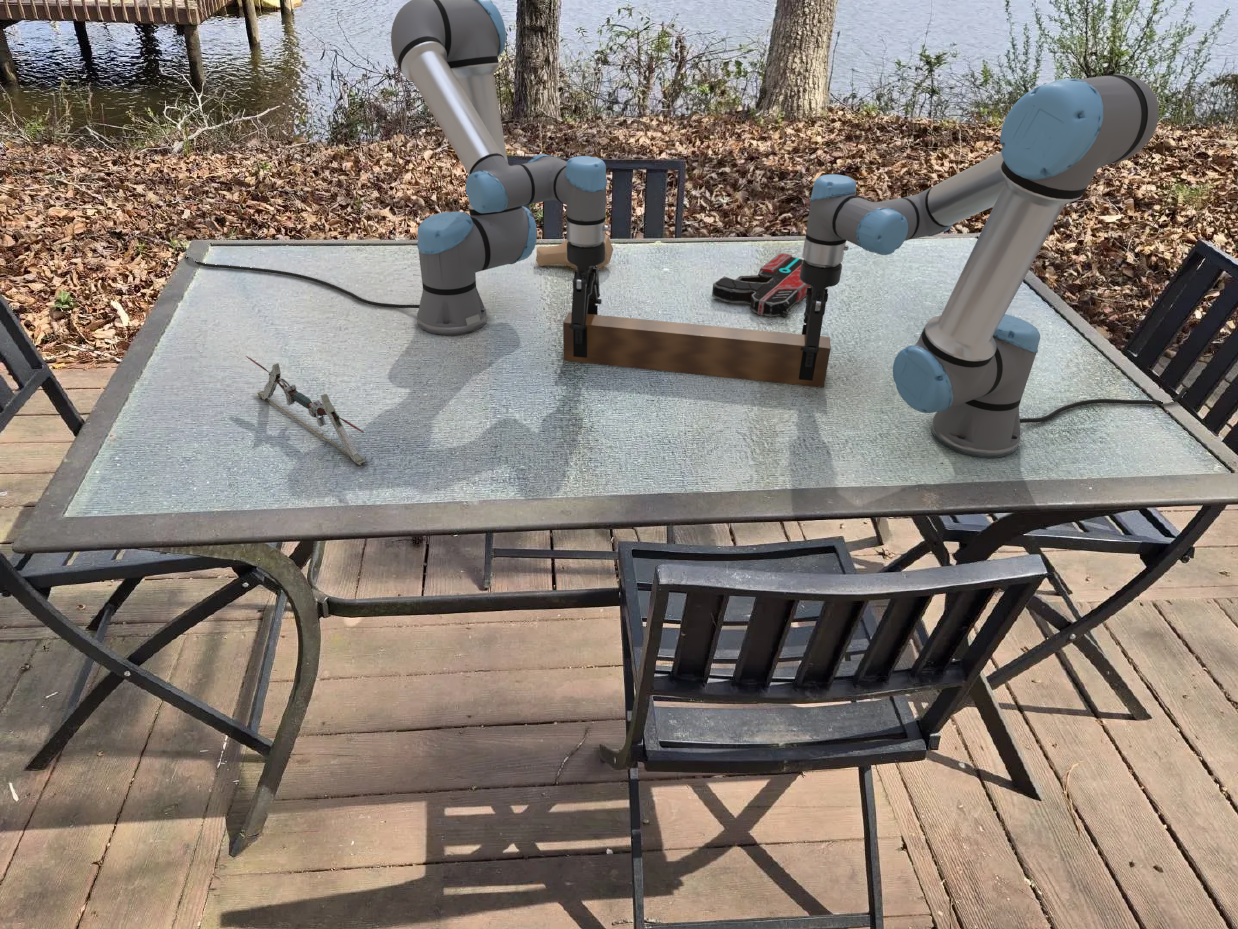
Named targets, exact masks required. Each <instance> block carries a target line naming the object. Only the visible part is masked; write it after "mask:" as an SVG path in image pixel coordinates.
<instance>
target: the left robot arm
mask: <svg viewBox="0 0 1238 929" xmlns="http://www.w3.org/2000/svg"><path fill="white" fill-rule="evenodd" d="M506 42H507V31H506V25H505V22H504V19H503V16H502V14H501V12H500V10H499V8H498V6H496V5H495V4H494V2H493V1H492V0H409V1H408V2H406V3H405V4H403V6H402V7H401V8H400V9H399V11H398V12H397V14H396V15H395V16H394V19H393V22H392V26H391V31H390V44H391V51H392V55H393V58H394V61H395V63H396V65H397V67H398V68H399V70H400V72H401V74H402V75H403V77H404V78H405V79H406V80H408V81H410V82H412V83H413V84H414V86H415V87H416V89H417V91H418V93H419V94H420V96H421V97H422V99H423V101H424V102H425V104H426V106H427V108H428V109H429V110H430V112H431V114H432V115H433V117H434V119H435V121H436V122H437V124H438V126H439V127H440V129H441V131H442V133H443V134H444V136H445V137H446V140H447V141H448V144H450V146H451V148H452V149H453V151H454V153H455V155H456V156H457V158H458V159H459V161H460V163H461V165H462V167H463V168H464V170H465V172H466V173H467V174H468V175H467V178H466V181H465V193H466V195H467V197H468V198H467V199H468V203H469V205H468V211H469V212H468V213H469V214H468V213H466V212H464V211H457V210H455V211H454V210H453V211H443V212H438V213H436V214H435V213H434V214H432V215H429V216H427V217H426V218H424V220H422V221H421V222H420V224H419V226H418V227H417V230H416V231H417V232H416V233H417V242H416V246H417V247H416V248H417V250H418V258H419V259H418V260H419V267H420V275H421V276H420V278H421V284H422V292H421V297H420V302H419V304H397V303H385V302H377V301H372V300H368V299H365V298H362V297H360V296H358V295H357V294H355V293H353V292H351V291H349V290H346V289H344V288H343V287H340V286H338V285H335V284H332V283H330V282H327V281H324V280H322V279H318V278H315V277H312V276H307V275H304V274H299V273H295V272H289V271H284V270H277V269H270V268H263V267H262V268H260V267H254V266H253V267H252V268H250V267H251V266H241V267H240V265H231V264H217V265H215V263H207V262H202V261H199V262H196V261H195V262H194V263H195V264H196V265H199V266H200V267H201V266H202V267H207V268H215V269H216V268H217V269H218V268H219V269H230V270H241V271H249V272H250V271H251V272H259V273H260V272H261V273H269V274H276V275H282V276H288V277H294V278H299V279H303V280H307V281H311V282H314V283H317V284H320V285H323V286H326V287H328V288H331V289H333V290H336V291H339V293H340V292H341V293H343V294H345V295H347V296H349V297H352V298H353V299H355V300H357V301H358V302H361V303H363V304H367V305H370V306H375V307H381V308H393V309H418V310H417V315H416V318H417V325H418V326H419V328H420V329H421V330H423V331H424V332H427V333H430V334H433V335H440V336H459V335H465V334H469V333H473V332H476V331H477V330H480V329H481V328H483V327H484V326H485V325H486V323H487V320H488V316H487V310H486V306H485V304H484V302H483V299H482V298H481V295H480V293H479V291H478V288H477V278H476V277H477V276H476V273H479V272H483V271H486V270H490V269H494V268H498V267H502V266H506V265H514V264H516V263H518V262H521V261H524V260H526V259H528V258H529V257H531V255H532V254H533V251H534V250H535V249H536V244H537V240H538V239H537V238H538V230H537V224H536V220H535V217H533V213H532V212H531V210H530V209H529V208H527V207H526V206H530V205H535V204H539V203H543V202H548V201H556V202H558V203H561V204H563V205H565V206H566V208H565V209H566V230H565V231H566V232H565V233H566V237H565V238H566V239H567V240H568V242H567V260H568V261H569V262H570V263H571V264H574V265H576V266H577V269H576V270H575V271H574V275H573V279H572V281H571V282H572V298H571V300H572V302H571V312H572V316H571V325H569V328H571V329H573V357H583V358H587V327H586V320H587V314H593V315H599V314H598V313H599V312H598V311H599V308H598V307H599V305H602V302H603V301H602V298H600V297H601V292H600V275H599V273H600V272H599V269H598V265H599V264H601V263H603V262H604V260H605V243H604V240H605V235H606V232H608V231H609V229H610V228H609V226H608V225H606V218H607V187H608V181H607V180H608V179H607V165H606V162H604V160H603V159H601V158H599V157H596V156H590V155H579V156H573V157H570V158H569V159H568V160H567V161H566V160H564V159H562V158H559V157H558V156H554V155H552V154H545V153H540V154H535V155H534V156H533V157H532V158H531V159H530V160H528V162H525V163H519V164H513V165H510V164H509V160H508V155H507V150H506V143H505V142H506V141H505V137H504V131H503V124H502V119H501V112H500V106H499V100H498V95H497V88H496V81H495V76H494V75H495V72H496V70H497V69H498V67H499V66H500V62H499V61H500V60H499V56H501V54H503V52H504V51H505V49H506ZM185 258H186V255H185V256H184V259H185ZM189 258H190V257H188V259H189ZM205 263H206V264H205ZM229 265H230V266H229Z"/></svg>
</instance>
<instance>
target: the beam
mask: <svg viewBox="0 0 1238 929" xmlns="http://www.w3.org/2000/svg"><path fill="white" fill-rule="evenodd" d="M571 316H572V311H569V312H568V313H567V314H566V317H565V318H564V320H563V321H562V335H563V336H562V338H563V340H562V342H563V347H562V348H563V362H564V361H565V362H574V363H583V364H593V365H602V366H612V367H613V366H614V367H621V368H632V369H642V370H652V371H663V372H671V373H682V374H690V375H691V374H692V375H700V376H710V377H718V378H730V379H737V380H749V381H758V382H769V383H778V384H787V385H797V386H798V385H799V386H806V387H807V386H808V387H816V388H825V383H826V378H827V372H828V366H829V361H830V354H831V350H832V347H831V337H830V336H823V335H820V342H819V351H818V353H817V357H816V363H815V369H814V375H813V381H810V380H800V379H799V372H800V366H801V359H802V353H803V351H802V350H800V347H804V346H805V339H806V335H802V333H801V334H800V333H792V332H791V333H790V332H780V331H769V330H759V329H750V328H738V327H730V326H729V327H728V326H719V325H718V326H717V325H707V324H698V323H688V322H687V323H686V322H675V321H664V320H655V319H644V318H635V317H633V318H632V317H624V316H623V317H622V316H613V315H602V314H598V315H593V314H587V320H586V327H587V358H583V357H573V329H571V328H569V325H571Z"/></svg>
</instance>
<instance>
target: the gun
mask: <svg viewBox="0 0 1238 929" xmlns="http://www.w3.org/2000/svg"><path fill="white" fill-rule="evenodd" d="M803 260H804V259H803V258H799V257H795V256H793V255H792V254H791V253H784V252H780V253H778V254H777V255H775V256H774V257H773V258H771V259H770V260H768V261H767V262H766V263H765V264H763V265H762V266H761V267H760V269H759V271H758V273H757V274H756V275H753V274H752V275H751V274H750V275H740V276H738V277H737V278H735V279H734V278H731V277H727V276H722V277H720V279H717V281H715V282H713V283H712V291H711V297H713V298H714V299H716V300H719V301H723V302H727V303H730V304H750V305H749V308H750V310H751V312H753V313H755V314H757V315H758V316H760V317H761V316H765V317H770V318H771V317H777V316H780V317H784V318H787V317H788V315H789V311H788V310H790V309H791V308H792V307H793V306H794V305H795V304H798V303H799V302H801V301H802V300H803V299H804V298H806V297H807V295H806V291H807V287H809V286H810V285H808V284H805V283H804V282H802V281H801V279H800V271H801V264H802V261H803Z"/></svg>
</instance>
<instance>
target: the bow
mask: <svg viewBox="0 0 1238 929" xmlns="http://www.w3.org/2000/svg"><path fill="white" fill-rule="evenodd" d="M245 357H246V358H247V359H248V360H250V361H251V362H253V364H255V365H256V366H257V367H259V368H261V369H262V370H263V371H265V372H267V373H268V381H267V382H266V384H265V386H264V387H263V388H264V389H263V390H261V391H258V392H257V397H259V398H260V399H262V400H267V401H269V402H270V403H271V404H272V405H275V406H276V407H277V408H278V409H280V410H282V411H283V412H285V413H286V414H287V415H289V416H290V417H292V418H293V419H295V420H296V421H298V422H299V423H301V424H302V425H304V426H305V427H306V428H308V429H310V430H311V431H312V432H314V433H315V434H317V435H318V436H319V437H321V438H323V439H324V440H325V441H327V442H329V443H330V444H332V445H333V446H334V447H335V448H337V449H339V450H340V451H342V452H343V453H344V454H346V455H347V456H348V457H350V459H351V460H352V461H353V462H354V464H356V465H359V466H362V464H365V463H367V461H366V460H365V458H364V457H362V456H361V455H360V453H359V452H358V451H357V449H356V447H355V445H354V443H353V441H352V440H351V438H350V436H349V434H348V432H347V430H346V429H345V427H344V425H343V423H346V424H347V425H348V426H350V427H352V428H353V429H355V430H357V431H358V432H360V433H362V434H364V433H365V431H364V430H362V429H361V428H360V427H358V426H356V425H355V424H353V423H351V422H350V421H348V420H346V419H344V418H342V417H340V415H339V414H338V412H337V411H336V408H335V407H334V405H333V403H332V402H331V399H330V398H329V395H328V394H327V393H324V394H321V395H320V399H321V401H320V399H317V400H315V401H312V400H311V398H309V397H308V396H307V395H305V394H304V393H302V392H300V391H298V390H297V386H296V384H291V385H290V383H289V382H288V381H287V380H286V379H284V378H282V376H281V375H282V372H281V367H280V363H278V362H277V363H274V364H272V365H271V366H272V367H271V368H272V369H271V371H269V370H268V369H266V368H265V367H264V366H263V365H262V364H260V363H259V362H257V361H256V360H254V359H252V358H251V357H249V356H248V355H245ZM277 385H279V387H280V388H281V389H282V391H283V393H284V395H285V402H286V405H287V406H289V407H290V406H292V405H295V404H296V403H298V404H299V405H300V406H301V407H303V408H305V409H307V410H308V414H309V415H310V416H311V417H312V418H313V419H314V418H315V419H316V422H317V426H318V427H320V428H321V427H323V426H327V423H326V418H325V417H324V416H327V417H328V419H329V421H330V423H331V425H332V428H334V431H335V433H336V434H337V437H338V438H339V440H340V442H341V443H342V444H343V448H344V449H343V448H341V447H339V446H338V445H336V444H335V443H334V442H332V441H330V439H328V438H326V437H325V436H323V435H322V434H320V433H319V432H318V431H316V430H314V429H313V428H312V427H310V426H309V425H307V424H306V423H304V422H303V421H301V420H300V419H298V418H297V417H295V416H294V415H293V414H291V413H290V412H288V411H287V410H285V409H284V408H283V407H281V406H279V405H278V404H276V402H273V401H272V400H270V398H271V397H272V396H273V395H274V393H275V391H276V390H277ZM342 422H343V423H342Z"/></svg>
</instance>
